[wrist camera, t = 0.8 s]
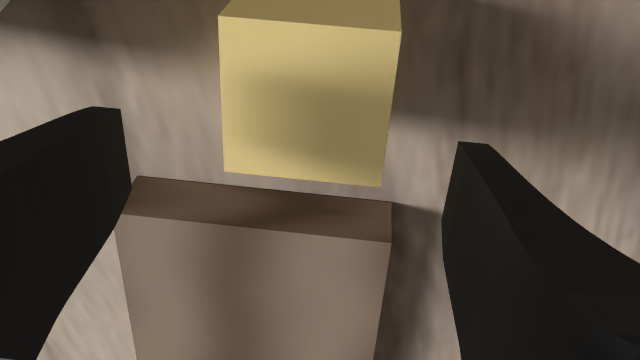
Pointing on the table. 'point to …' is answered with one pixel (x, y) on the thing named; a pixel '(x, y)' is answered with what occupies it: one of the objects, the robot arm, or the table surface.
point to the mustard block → (308, 87)
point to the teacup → (3, 4)
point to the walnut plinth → (251, 272)
